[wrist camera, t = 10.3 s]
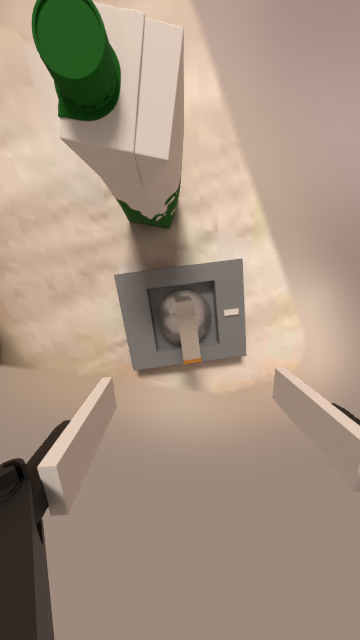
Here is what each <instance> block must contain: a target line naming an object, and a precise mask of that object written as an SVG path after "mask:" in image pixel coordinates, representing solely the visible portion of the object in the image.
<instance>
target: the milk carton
mask: <svg viewBox="0 0 360 640" xmlns="http://www.w3.org/2000/svg"><path fill="white" fill-rule="evenodd" d="M32 33H33V38H34V42H35V45H36V48H37V51H38V52H39V54H40V57H41V59H42V60H43V62H44V64H45V66H46V67H47V69H48V71H49V72H50V74H51V76H52V77H53V79H54V83H55V89H56V92H57V95H58V98H59V103H58V116H59V117H60V138H61V140H63V141H64V142H65V143H66V144H67V145H68V146H69V147H70V148H71V149H72V150H73V151H74V152H75V153H76V154H77V155H78V156H79V157H80V158H81V159H82V160H84V161H85V162H86V163H87V164H88V165H89V166H90V167H91V168H92V169H93V170H94V171H95V172H96V173H97V174H98V175H99V176H100V177H101V178H102V180H103V181H104V182H105V184H106V185H107V187H108V188H109V189H110V191H111V192H112V194H113V195H114V197H115V198H116V200H117V201H118V202H119V204H120V205H121V207H122V209H123V211H124V213H125V214H126V216H127V218H128V220H129V221H131V222H137V223H142V224H148V225H154V226H159V227H165V228H170V226H171V223H172V220H173V216H174V213H175V210H176V207H177V203H178V197H179V191H180V183H181V169H182V154H183V135H184V63H183V53H184V28H183V27H181V26H177V25H174V24H170V23H166V22H162V21H158V20H154V19H150V18H146V17H145V13H143V12H141V11H138V10H134V9H130V8H127V9H122V8H118V7H114V6H110V5H106V4H102V3H97V2H93V1H92V0H37V1H36V3H35V6H34V9H33V14H32Z"/></svg>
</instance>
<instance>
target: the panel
mask: <svg viewBox="0 0 360 640" xmlns="http://www.w3.org/2000/svg"><path fill="white" fill-rule="evenodd" d="M114 277H115V282H116V287H117V292H118V297H119V302H120V306H121V311H122V316H123V321H124V326H125V331H126V336H127V341H128V346H129V350H130V355H131V360H132V365H133V370H142V369H149V368H157V367H164V366H172V365H180V364H184V362H183V354H182V346H181V343H178V342H174V341H172V340H170V339H169V338H167V337H166V336H165V335H164V334H163V333H162V331H161V330H160V328H159V325H158V321H157V313H158V309H159V306H160V304H161V303H162V301H163V300H164V298H165V297H166V296H168V295H169V294H170V293H172V292H175V291H178V290H191V291H194V292H196V293H198V294H200V295H201V296H202V297H203V298H204V299H205V300H206V301H207V303H208V304H209V306H210V309H211V323H210V326H209V328H208V330H207V332H206V333H205V334H204V335H203V336H202V337H201V338H199V346H200V355H201V360H202V361H210V360H218V359H225V358H233V357H240V356H246V336H245V311H244V286H243V262H242V259H235V260H227V261H219V262H211V263H204V264H196V265H188V266H180V267H172V268H164V269H157V270H149V271H141V272H133V273H125V274H117V275H114Z"/></svg>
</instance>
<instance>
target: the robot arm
mask: <svg viewBox="0 0 360 640" xmlns="http://www.w3.org/2000/svg"><path fill="white" fill-rule="evenodd" d="M273 399H274V400H275V401H276V402H277V404H278V405H279V406H280V407H281V408H282V409H283V411H284V412H285V413H286V414H287V415H288V416H289V418H290V419H291V420H292V421H293V422H294V423H295V425H296V426H297V427H298V428H299V429H300V431H301V432H302V433H303V434H304V435H305V436H306V438H307V439H308V440H309V441H310V442H311V443H312V445H313V446H314V447H315V448H316V449H317V450H318V451H319V453H320V454H321V455H322V456H323V457H324V458H325V460H326V461H327V462H328V463H329V464H330V466H331V467H332V468H333V469H334V470H335V471H336V473H337V474H338V475H339V476H340V477H341V478H342V480H343V481H344V482H345V483H346V484H347V485H348V486H349V488H350V489H351V490H352V491H353V492H355V491H360V420H359V419H358V418H356V417H354V415H352V414H351V413H350V412H348V411H347V410H346V409H344V408H342V407H340V406H338V405H336V404H334V403H329V402H328V401H327V400H326V399H324V398H323V397H322V396H320V395H319V394H318V393H316V392H315V391H314V390H313V389H311V388H310V387H309V386H307V385H306V384H305V383H304V382H302V381H301V380H300V379H298V378H297V377H296V376H295V375H293V374H292V373H291V372H289V371H288V370H287V369H286V368H275V377H274V388H273ZM115 409H116V401H115V394H114V387H113V379H112V377H108V378H102V379H101V380H100V382H99V383H98V385H97V386H96V387H95V389H94V390H93V391H92V393H91V394H90V396H89V397H88V398H87V400H86V401H85V402H84V404H83V405H82V406H81V408H80V409H79V410H78V412H77V413H76V415H75V416H74V417H73V419H72V420H70V421H63V422H62V423H61V424H60V425H59V426H57V427H56V428H55V429H54V430H53V431H52V433H51V434H50V435H49V436H48V438H47V439H46V440H45V441H44V443H43V444H42V446H40V448H39V449H38V450H37V451H36V452H35V454H34V455H33V456H32V457H31V459H30V460H29V461H28V463H27V464H26V465H25V462H24V460H23V459H20V458H18V459H12V460H9V461H7V462H4V463H2V464H1V465H0V640H54V632H53V622H52V611H51V601H50V590H49V580H48V570H47V559H46V549H45V538H44V528H43V521H42V517H43V515H44V513H45V511H46V509H47V508H48V507H49V511H50V514H51V516H52V515H65V514H69V512H70V510H71V507H72V505H73V503H74V500H75V499H76V496H77V494H78V492H79V490H80V487H81V485H82V483H83V481H84V478H85V476H86V474H87V472H88V470H89V467H90V465H91V463H92V461H93V458H94V456H95V454H96V451H97V450H98V447H99V445H100V443H101V441H102V438H103V436H104V434H105V431H106V429H107V427H108V425H109V423H110V420H111V418H112V416H113V414H114V411H115Z"/></svg>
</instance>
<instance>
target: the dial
mask: <svg viewBox="0 0 360 640" xmlns="http://www.w3.org/2000/svg"><path fill="white" fill-rule="evenodd" d="M157 321H158V325H159V328H160V330H161V331H162V333H163V334H164V335H165V336H166V337H167V338H169V339H170V340H172V341H174V342H178V343H181V346H182V354H183V362H184V364H190V363H197V362H202V360H201V355H200V346H199V338H201V337H202V336H203V335H204V334H205V333H206V332H207V330H208V328H209V326H210V323H211V309H210V306H209V304H208V303H207V301H206V300H205V299H204V298H203V297H202V296H201V295H200V294H198V293H196V292H194V291H191V290H178V291H175V292H172V293H170V294H169V295H168V296H166V297H165V298H164V300H163V301H162V303H161V304H160V306H159V309H158V313H157Z"/></svg>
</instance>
